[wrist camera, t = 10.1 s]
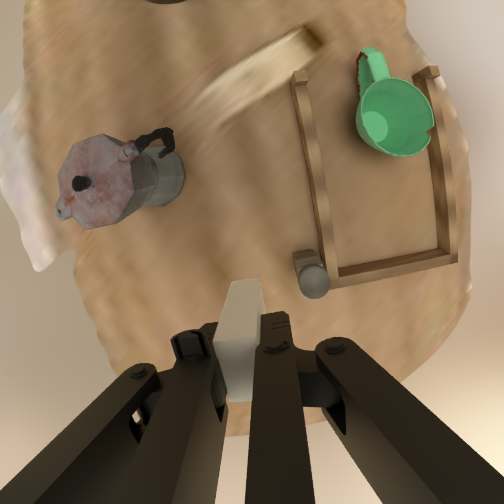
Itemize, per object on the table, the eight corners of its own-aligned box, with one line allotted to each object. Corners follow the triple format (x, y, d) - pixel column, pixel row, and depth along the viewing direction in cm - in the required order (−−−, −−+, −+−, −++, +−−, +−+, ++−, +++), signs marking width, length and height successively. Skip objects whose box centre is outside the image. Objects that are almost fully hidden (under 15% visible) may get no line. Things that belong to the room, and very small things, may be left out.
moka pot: (103, 181, 45) (18, 188, 26) (180, 115, 43) (124, 76, 23) (137, 230, 47) (64, 265, 27) (218, 166, 44) (184, 159, 25)
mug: (410, 152, 42) (443, 148, 33) (352, 167, 43) (375, 165, 34) (380, 61, 39) (405, 38, 30) (320, 72, 40) (334, 47, 31)
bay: (259, 88, 41) (258, 64, 31) (419, 76, 39) (452, 57, 29) (295, 285, 48) (303, 314, 37) (445, 255, 46) (480, 274, 35)
